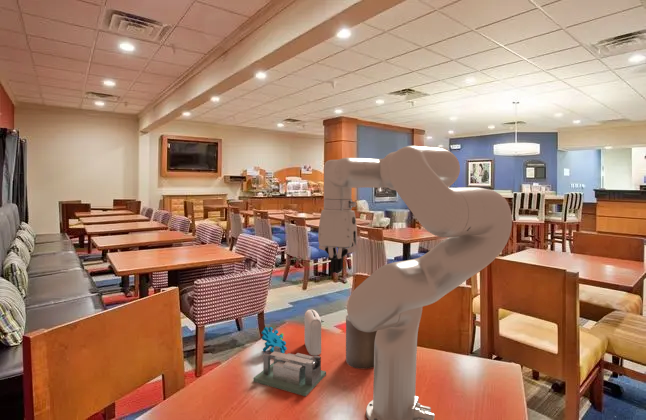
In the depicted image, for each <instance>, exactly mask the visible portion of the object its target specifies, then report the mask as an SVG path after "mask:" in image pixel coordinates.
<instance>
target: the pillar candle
mask: <svg viewBox="0 0 646 420" xmlns="http://www.w3.org/2000/svg"><path fill="white" fill-rule="evenodd" d="M376 332H377V331H374V332H363V331H360V330H358V329H357V328H355V327H354V326H353V325H352V323H351V322H350V320H349V317H348V314H347V315H346V316H345V362H346V364H347V365H348V366H349V367H351V368H354V369H358V370H359V369H360V370H364V369H372V368H373V369H374V342H375V336H376Z"/></svg>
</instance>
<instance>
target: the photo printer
mask: <svg viewBox="0 0 646 420" xmlns="http://www.w3.org/2000/svg"><path fill="white" fill-rule="evenodd" d="M304 346H305V348H306V351H307V352H308V355H309V356H314V355H315V356H320V354H322V320H321V317H320V315H319V313H318V311H316V310H314V309H308V310H307V311H305V313H304Z"/></svg>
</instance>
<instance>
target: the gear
mask: <svg viewBox="0 0 646 420" xmlns="http://www.w3.org/2000/svg"><path fill="white" fill-rule="evenodd" d="M260 333H261V334H262V336H261V340H262V341H265V342H264V347H263V348H262V350H263V352H267V350H268V349H269V351H270V352H271V353H273V352H274V347H275V346H277V347H280V353H284V354H286V353H285V352H286V351H287V349H288V348H287V346H286V345H287V341H285V340H283V339H284V336H285V335H284V333H282V332H280V334H279V330H278V329H275V330H274V328H273V327H271V326H269V327H267V326H265V327H264V328H263V330H262V331H261V332H260ZM278 334H279V335H278Z"/></svg>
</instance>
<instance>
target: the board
mask: <svg viewBox="0 0 646 420" xmlns="http://www.w3.org/2000/svg"><path fill="white" fill-rule="evenodd" d="M273 365H274V361H273V362H272V363H270V374H269V375H265V374H263V370H261V371H260V372H259V373H258V374H256V375H255V376H254V377H253V378H252V379H253V381H252V382H254V383H258V384H261V385H264V386H268V387H272V388H274V389H279V390H283V391H285V392H289V393H293V394H295V395H299V396H303V397H307V395H309V394H310V393H311V391H313V389H314V388H315V387H317V385H318V384H319V383H320V382H321V381H322V380H323V379H324V378H325V377H326V376H327V371H326V370H322V369H321V377H320V378H319V379H318V380H317V381H316V383H315V384H314V385H313V386H309V385H306V384H305V381H304V382H303V383H302V384H301V385H300V386H297V385H294V384H290V383H287V382H283V381H279V380H276V379H273Z"/></svg>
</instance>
